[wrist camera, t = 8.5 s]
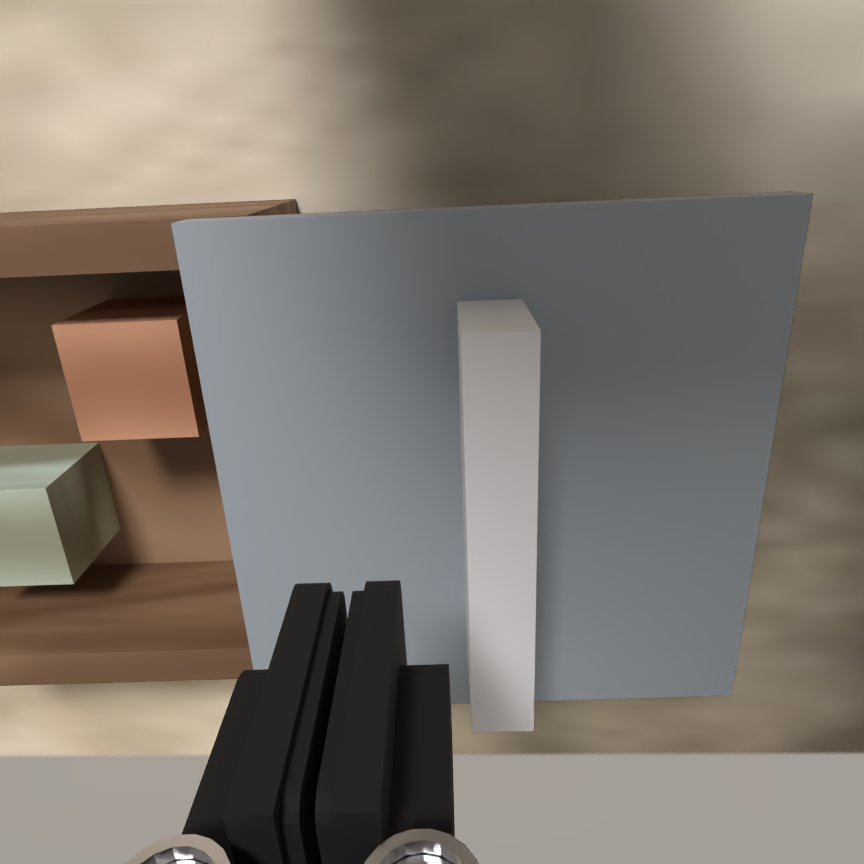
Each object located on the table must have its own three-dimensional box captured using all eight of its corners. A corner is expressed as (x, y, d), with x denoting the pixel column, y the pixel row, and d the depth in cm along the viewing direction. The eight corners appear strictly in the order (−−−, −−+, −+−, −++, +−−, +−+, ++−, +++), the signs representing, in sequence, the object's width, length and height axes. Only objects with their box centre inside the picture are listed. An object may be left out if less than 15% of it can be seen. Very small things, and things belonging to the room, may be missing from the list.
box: (-133, 219, 22) (-326, 241, 16) (295, 199, 22) (246, 215, 16) (-7, 580, 27) (-120, 689, 22) (338, 568, 27) (312, 676, 21)
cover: (186, 218, 16) (110, 239, 12) (791, 191, 15) (901, 203, 12) (268, 684, 21) (232, 797, 17) (718, 671, 21) (779, 783, 17)
